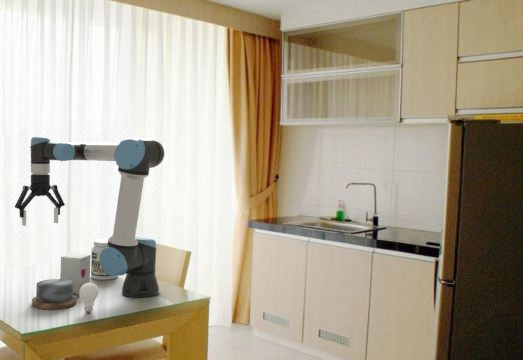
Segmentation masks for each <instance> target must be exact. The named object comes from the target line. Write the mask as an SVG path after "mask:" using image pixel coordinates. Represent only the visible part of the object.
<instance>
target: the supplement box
mask: <svg viewBox="0 0 523 360" xmlns="http://www.w3.org/2000/svg"><path fill="white" fill-rule="evenodd" d="M91 255H92V254H85V253H76V252H74V253H73V252H71V253H69V254H65V255H62V256H61V257H60V274H59V277H60V278H59V279H66V280H70V281H72V282H73V295H80V294H79V291H80V288H81V287H82V286H83V285H84V284H86V283H91Z"/></svg>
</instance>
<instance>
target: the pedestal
mask: <svg viewBox="0 0 523 360" xmlns="http://www.w3.org/2000/svg"><path fill="white" fill-rule="evenodd" d="M35 292H36V294H35V295H36V296H34V297H33V298H32V299H31V307H33V308H34V309H36V308H37V310H41V309H42V310H43V311H56V310H57V311H58V310H65V309H69V308H72V307H74V306H75V305H77V303H78V302H77V295H76V294H73V282H72V281H70V280H66V279H60V278H51V279H49V278H48V279H43V280H41V281H40V280H39V281H38V282H36V291H35ZM42 310H41V311H42Z"/></svg>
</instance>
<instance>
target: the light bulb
mask: <svg viewBox="0 0 523 360" xmlns="http://www.w3.org/2000/svg"><path fill="white" fill-rule="evenodd" d="M78 295H79V296H80V299H81V300H82V303H83V306H84V312H85V313H87V314H90V313H91V312H93V311H94V309H93V307H94V303H95V300H96V299H97V297H98V295H99V287H98V286H97V285H96V284H95V283H93V282H90V283H86V284H84V285H83V286H82V287H81V288H80V291H79V294H78Z"/></svg>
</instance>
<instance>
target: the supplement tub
mask: <svg viewBox="0 0 523 360" xmlns="http://www.w3.org/2000/svg"><path fill="white" fill-rule="evenodd" d="M108 239H109V238H100V239H95V240H93V246H92V248H91V254H90V255H91V257H90V278H92V279H93V280H94V279H95V280H98V281H99V280H100V281H108V280H114V279H116V278H118V276H111V275H108V274H107V273H106V272H105V271H104V270H103V268H102V267H101V265H100V260H99V257H100V253H101V251H102V250H104V249H105V248H107V244H108Z"/></svg>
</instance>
